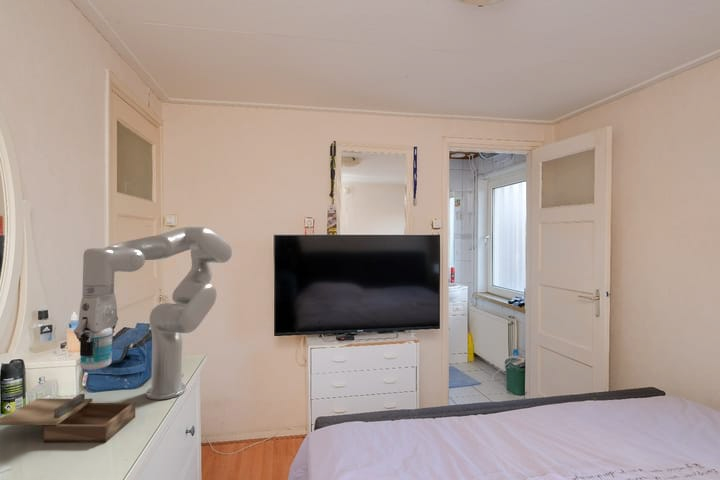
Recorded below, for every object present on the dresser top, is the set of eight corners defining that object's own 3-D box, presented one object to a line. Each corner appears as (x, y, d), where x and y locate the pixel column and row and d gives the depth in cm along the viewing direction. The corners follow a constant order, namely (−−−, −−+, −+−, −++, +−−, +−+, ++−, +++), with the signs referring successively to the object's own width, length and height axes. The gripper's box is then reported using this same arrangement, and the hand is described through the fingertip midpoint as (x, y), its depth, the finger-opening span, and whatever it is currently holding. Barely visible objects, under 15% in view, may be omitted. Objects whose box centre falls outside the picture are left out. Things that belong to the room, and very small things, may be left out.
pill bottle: (74, 368, 105) (75, 321, 105) (100, 360, 112) (101, 316, 112) (91, 372, 102) (92, 323, 102) (117, 364, 109) (118, 318, 109)
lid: (37, 401, 111) (37, 390, 111) (92, 401, 112) (92, 390, 112) (-7, 424, 97) (-7, 412, 97) (56, 424, 98) (56, 412, 98)
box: (81, 417, 112) (81, 402, 112) (135, 417, 113) (135, 402, 113) (43, 442, 98) (44, 426, 98) (105, 442, 99) (106, 426, 99)
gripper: (89, 295, 98) (87, 361, 98) (130, 287, 116) (128, 343, 116) (61, 294, 98) (59, 360, 98) (106, 286, 116) (104, 342, 116)
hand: (96, 350), depth 107 cm, fingers closed on pill bottle, 7 cm apart
